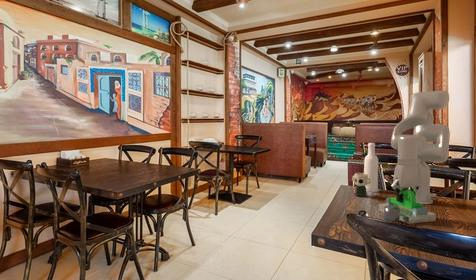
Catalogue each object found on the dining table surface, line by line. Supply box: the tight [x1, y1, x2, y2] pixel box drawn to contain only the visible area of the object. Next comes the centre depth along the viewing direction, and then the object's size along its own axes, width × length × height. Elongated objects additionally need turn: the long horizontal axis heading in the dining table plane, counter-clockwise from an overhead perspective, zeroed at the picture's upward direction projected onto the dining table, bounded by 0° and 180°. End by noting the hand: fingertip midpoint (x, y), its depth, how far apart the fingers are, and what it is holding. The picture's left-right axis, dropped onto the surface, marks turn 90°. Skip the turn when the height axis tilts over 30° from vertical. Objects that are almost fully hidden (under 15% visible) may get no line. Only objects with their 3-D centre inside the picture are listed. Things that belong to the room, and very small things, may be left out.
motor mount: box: [377, 196, 437, 225], centre depth 124 cm, size 22×18×6 cm
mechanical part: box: [390, 189, 424, 210], centre depth 124 cm, size 12×6×8 cm, turn 13°
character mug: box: [351, 172, 370, 197], centre depth 157 cm, size 11×7×13 cm, turn 34°
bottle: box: [363, 142, 379, 193], centre depth 167 cm, size 8×8×30 cm
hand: (405, 200), depth 125 cm, fingers closed on mechanical part, 6 cm apart
